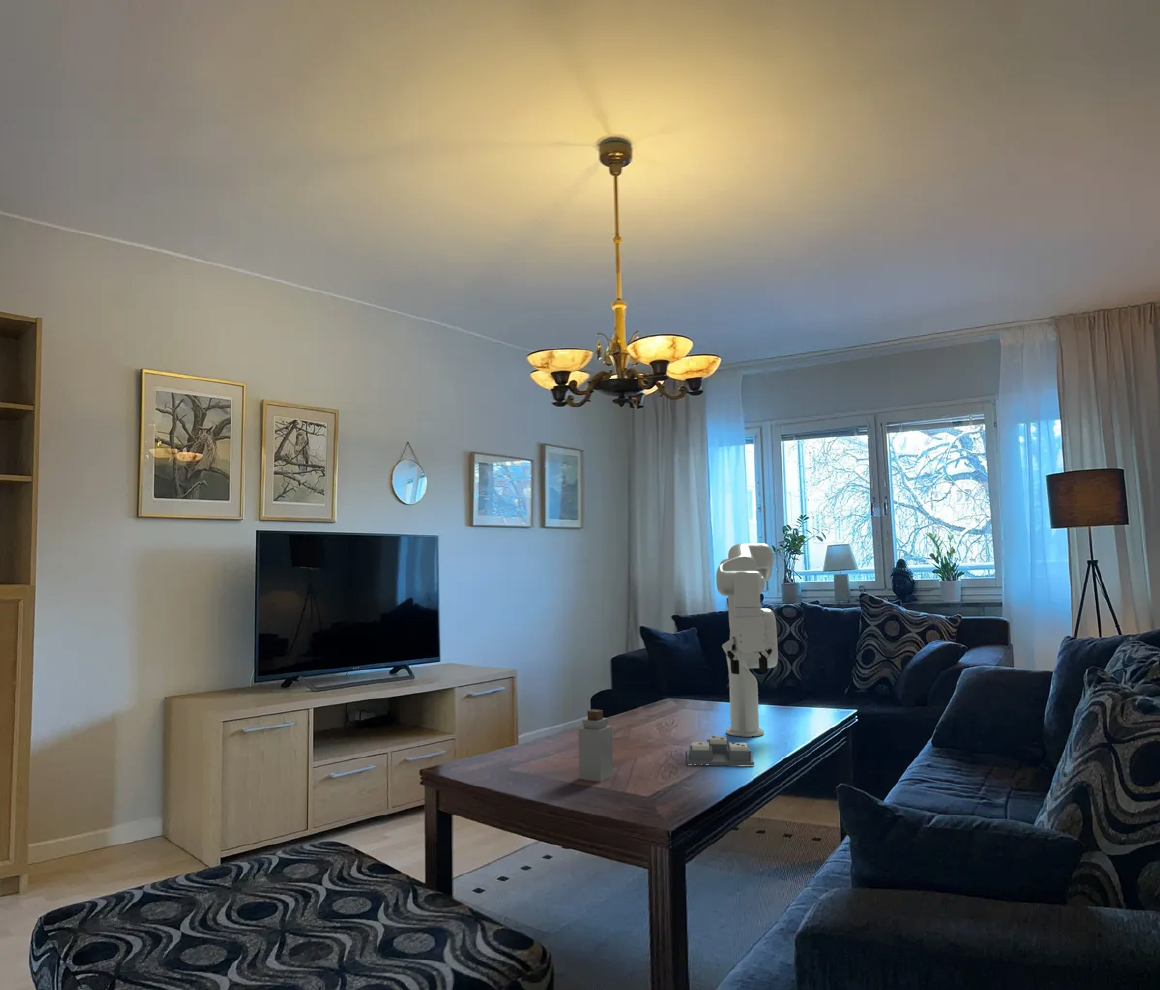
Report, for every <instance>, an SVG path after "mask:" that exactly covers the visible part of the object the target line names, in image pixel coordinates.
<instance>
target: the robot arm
mask: <svg viewBox="0 0 1160 990" xmlns="http://www.w3.org/2000/svg"><path fill="white" fill-rule="evenodd" d="M773 564H774V555H773V551H772V549H771V547H770V546H769V545H768V544H766V543H763V542H762V543H758V542H756V543H737V544H735V545H732V546H731V547H730V548H729V550H728V552H727V558H725V559H723V560H722V561H720V563H719V565H718V568H717V570H716V575H715V577H716V579H715V582H716V589H717V591H718V592H717V593H718V594H720V595H721V596H725V597H727V601H728V602H727V603H728V604H727V606H728V623H729V624H728V626H729V640H727V641H726V642H725V643H723V644H722V646H721V648H722V649H723V651H724V654H725V657H726V662H727V668H728V669H727V671H728V680H729V681H728V683H729V686H728V687H729V712H730V713H729V714H730V727H727V728H726V729H725V733H726V734H727V735H729V736H733V737H740V736H741V737H745V738H748V737H749V738H753V737H752V736H754V737H760V736H762V735H764V734H765V733H764V731H765V730H764V729H763V728H760V721H759V719H760V718H759V717H760V716H759V696H758V695H759V691H758V690H759V688H758V680H757V678H756V676H755V675H754V674H753V673H752V672H751V671H750V669H758V671H759V672H760V673H768V669H772V668H775V667H776V666H777V664H778V661H779V652H778V651H779V650H778V632H777V631H778V630H777V620H776V616H775V613H774V610H771V609H770V608H766V607H765V608H762V607H761V595H762V593H763V591H764V590H765V583H766V582H768V581H769V580H770V579H771V577H772V571H773Z"/></svg>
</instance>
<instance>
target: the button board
mask: <svg viewBox="0 0 1160 990" xmlns="http://www.w3.org/2000/svg"><path fill="white" fill-rule="evenodd" d="M706 742H709V739H706ZM729 743H730V741H729V739H727V744H710V743H709V750H692V745H688V746H687V747H686V765H687V764H692V765H691V766H695V765H694V764H696V765H701V764H702V765H706V764H709V765H754V766H755V761H754V759H753V755H752V751H751V748H750V746H748V745H747V746H748V751H730V750H729Z"/></svg>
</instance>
